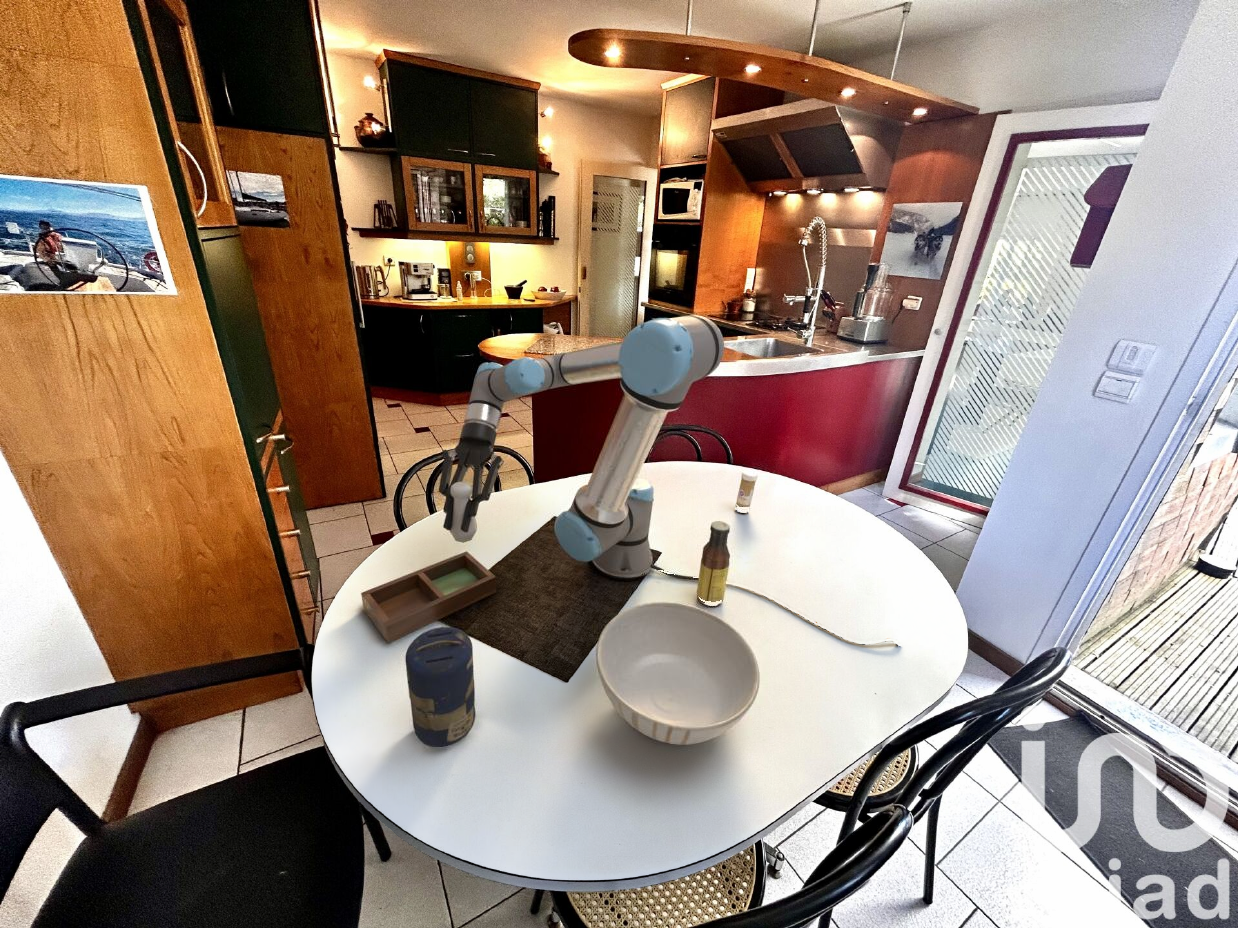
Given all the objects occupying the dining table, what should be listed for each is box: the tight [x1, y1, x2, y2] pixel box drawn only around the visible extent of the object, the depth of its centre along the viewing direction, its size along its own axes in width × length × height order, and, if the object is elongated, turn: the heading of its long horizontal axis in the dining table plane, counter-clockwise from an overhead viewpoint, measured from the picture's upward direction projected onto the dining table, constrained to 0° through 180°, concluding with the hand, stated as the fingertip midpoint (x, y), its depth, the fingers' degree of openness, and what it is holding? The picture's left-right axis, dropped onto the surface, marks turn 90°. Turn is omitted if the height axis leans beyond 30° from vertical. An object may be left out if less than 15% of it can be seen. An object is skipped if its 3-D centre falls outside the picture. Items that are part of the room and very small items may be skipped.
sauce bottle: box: [696, 520, 731, 604], centre depth 109 cm, size 7×6×20 cm
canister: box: [404, 626, 477, 749], centre depth 76 cm, size 10×10×18 cm
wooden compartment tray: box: [360, 550, 497, 644], centre depth 104 cm, size 12×24×4 cm, turn 135°
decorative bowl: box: [595, 601, 761, 746], centre depth 83 cm, size 27×27×12 cm
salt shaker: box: [448, 481, 478, 543], centre depth 105 cm, size 6×6×13 cm
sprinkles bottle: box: [735, 469, 758, 508], centre depth 150 cm, size 5×5×14 cm
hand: (455, 529), depth 102 cm, fingers closed on salt shaker, 3 cm apart
